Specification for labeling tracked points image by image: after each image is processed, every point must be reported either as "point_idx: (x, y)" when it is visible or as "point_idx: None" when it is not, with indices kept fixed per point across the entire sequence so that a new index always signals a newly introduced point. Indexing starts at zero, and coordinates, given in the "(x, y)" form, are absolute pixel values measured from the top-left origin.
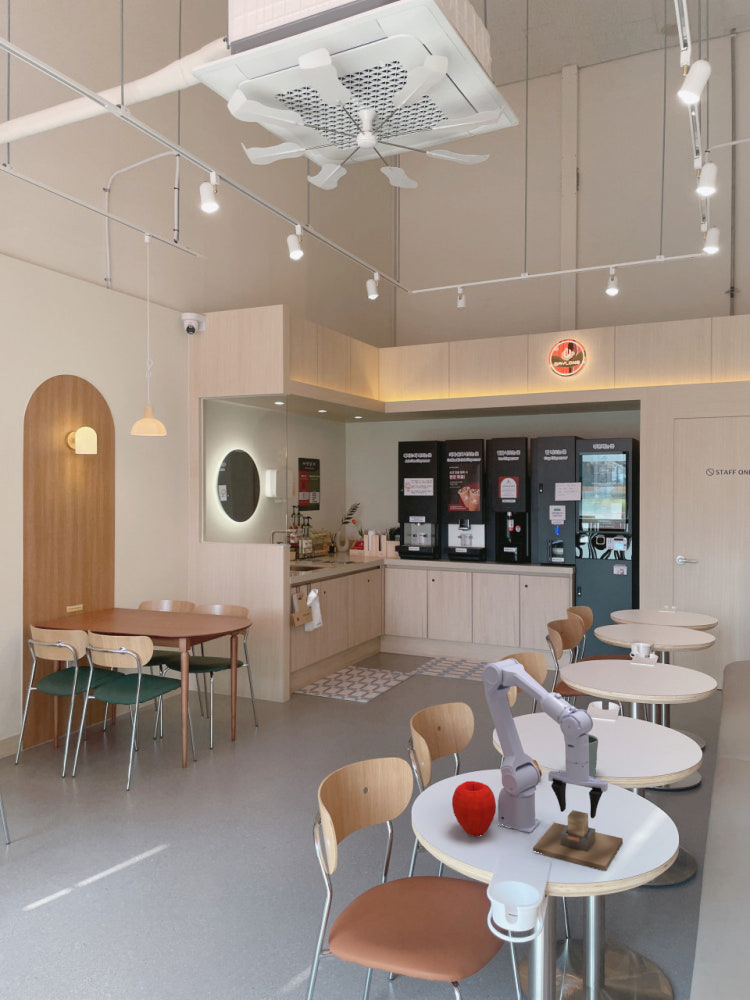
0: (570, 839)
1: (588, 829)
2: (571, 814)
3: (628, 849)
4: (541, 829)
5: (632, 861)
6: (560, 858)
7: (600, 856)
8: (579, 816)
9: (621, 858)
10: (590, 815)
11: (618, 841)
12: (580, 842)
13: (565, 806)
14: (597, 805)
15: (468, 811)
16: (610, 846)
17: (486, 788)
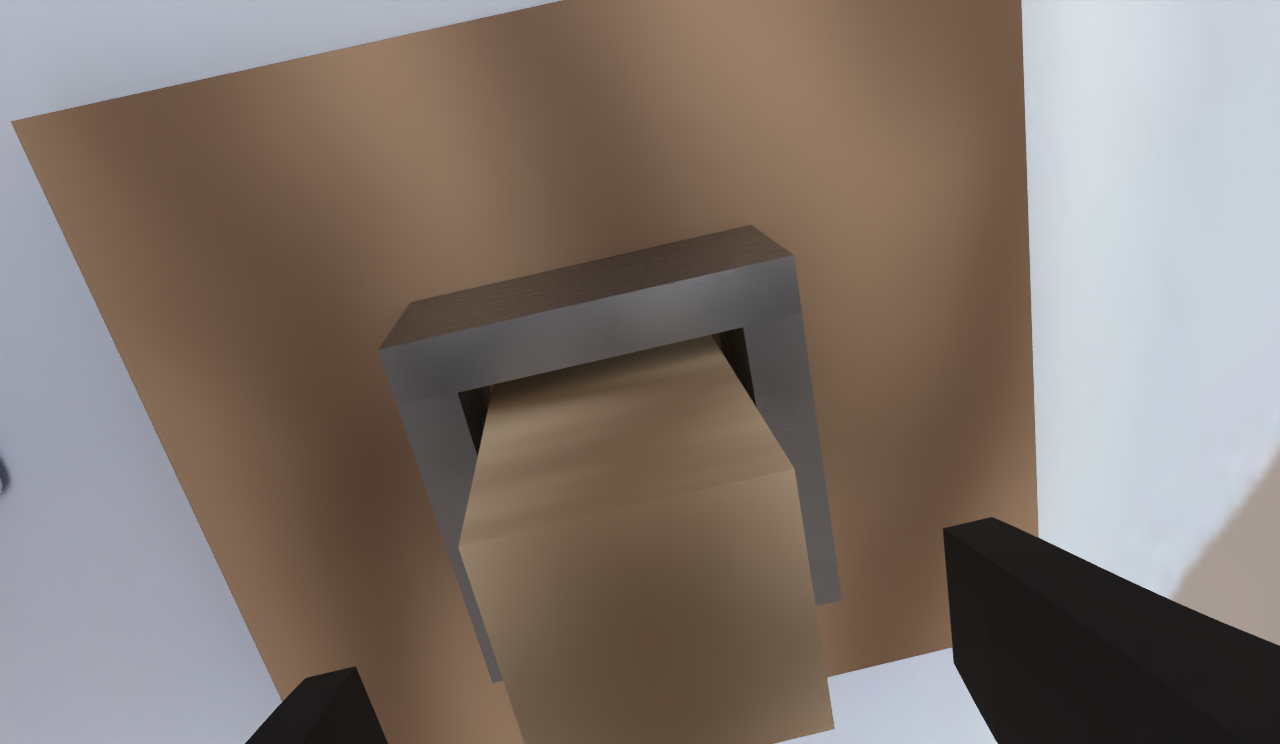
0: None
1: (714, 331)
2: (561, 712)
3: (1087, 36)
4: (3, 300)
5: (1184, 273)
6: None
7: (940, 509)
8: (721, 680)
9: (1072, 292)
10: (986, 720)
11: (998, 40)
12: None
13: (342, 713)
14: (1189, 616)
15: None
16: (956, 240)
17: None
